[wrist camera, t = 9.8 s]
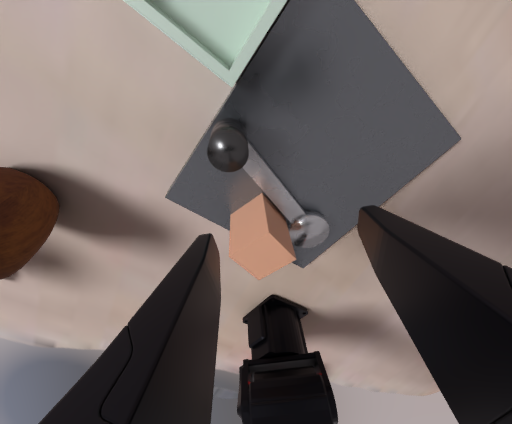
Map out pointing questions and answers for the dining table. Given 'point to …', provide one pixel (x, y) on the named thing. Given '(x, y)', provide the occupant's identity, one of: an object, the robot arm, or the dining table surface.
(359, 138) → the base plate
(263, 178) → the crank
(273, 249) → the block
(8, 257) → the wooden figurine
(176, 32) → the tray
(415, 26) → the dining table surface
